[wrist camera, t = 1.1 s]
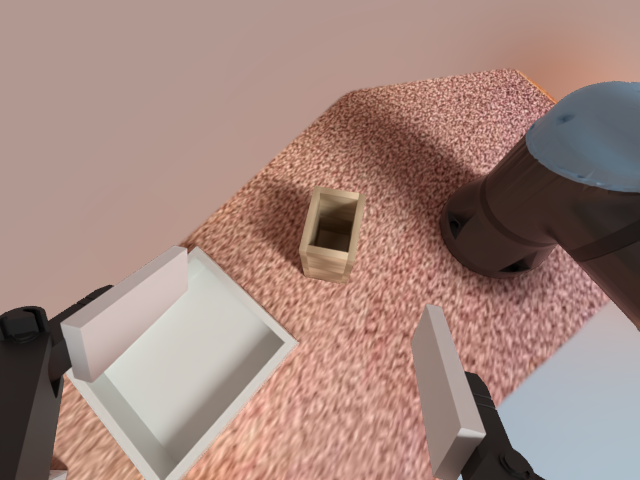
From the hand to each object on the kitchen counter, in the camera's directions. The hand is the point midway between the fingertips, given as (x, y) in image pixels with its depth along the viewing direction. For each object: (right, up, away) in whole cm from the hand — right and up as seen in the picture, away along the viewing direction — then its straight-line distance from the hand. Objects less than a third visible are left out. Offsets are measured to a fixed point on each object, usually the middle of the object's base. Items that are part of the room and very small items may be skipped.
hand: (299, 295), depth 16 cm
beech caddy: (+3, +1, +28) cm, 28 cm away
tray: (-15, -12, +23) cm, 30 cm away
